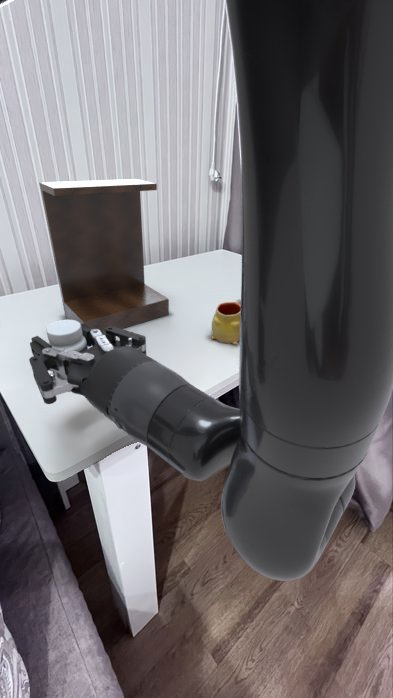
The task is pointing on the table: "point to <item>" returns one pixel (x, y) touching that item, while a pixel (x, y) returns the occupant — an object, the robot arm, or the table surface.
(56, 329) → the pill bottle
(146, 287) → the shelf
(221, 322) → the mug
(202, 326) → the table surface
